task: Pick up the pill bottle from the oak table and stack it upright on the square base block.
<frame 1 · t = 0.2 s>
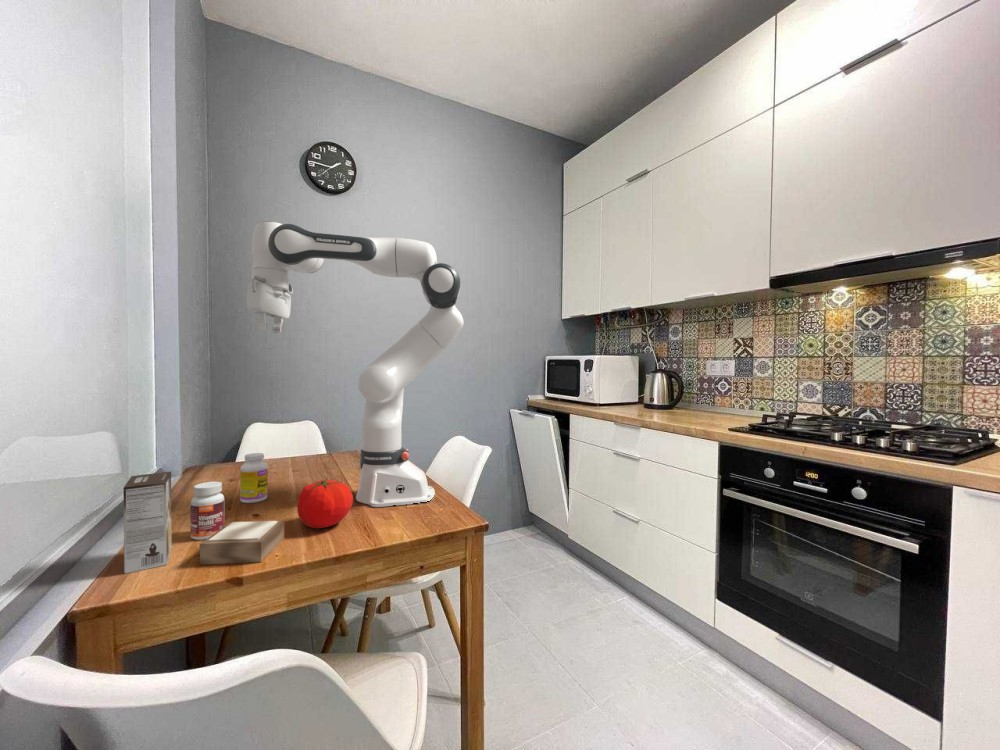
hand: (269, 331, 114), 47 cm above the table, tool pointing down, fingers open, 8 cm apart
pill bottle: (207, 535, 91), on the table
tomato: (325, 525, 98), on the table
base: (245, 550, 84), on the table
supplement bottle: (254, 500, 115), on the table
coffee box: (149, 561, 79), on the table
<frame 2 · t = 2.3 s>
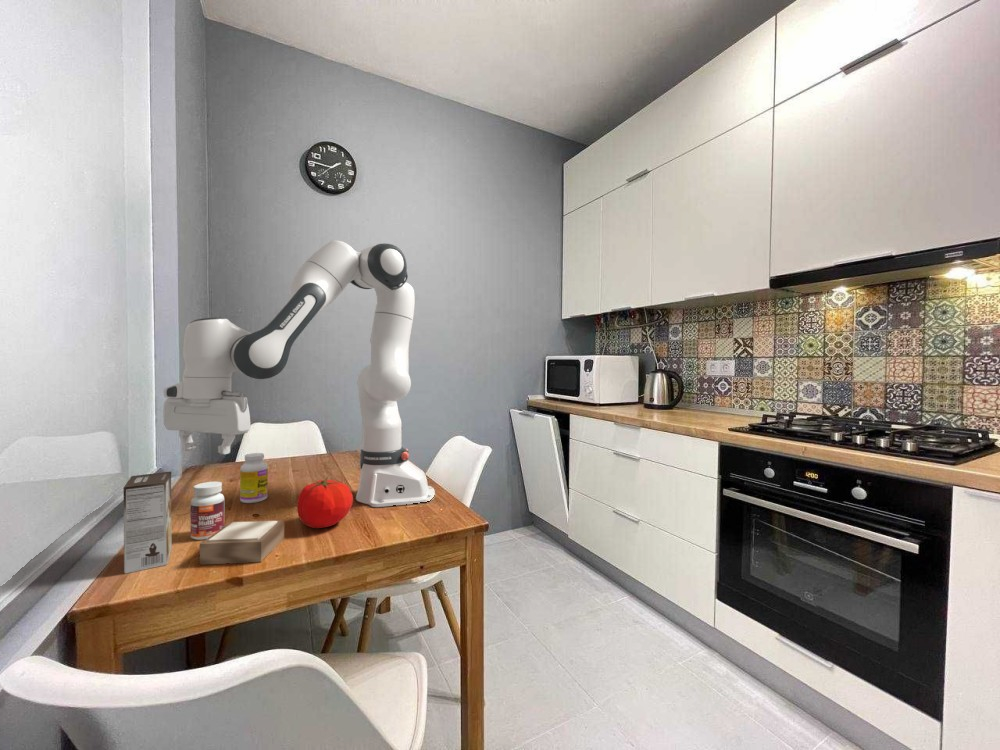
hand: (206, 452, 91), 19 cm above the table, tool pointing down, fingers open, 8 cm apart
nothing on the table moved.
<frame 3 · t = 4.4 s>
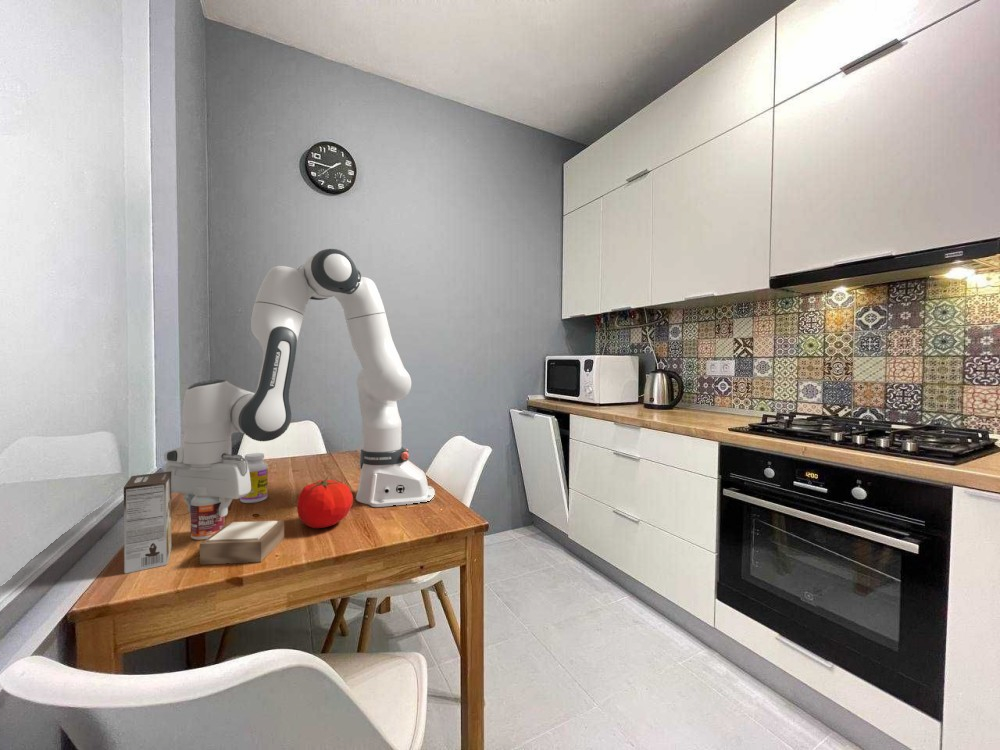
hand: (207, 514, 91), 5 cm above the table, tool pointing down, fingers closed on pill bottle, 6 cm apart
pill bottle: (207, 535, 91), on the table, touching gripper
everything else where it was.
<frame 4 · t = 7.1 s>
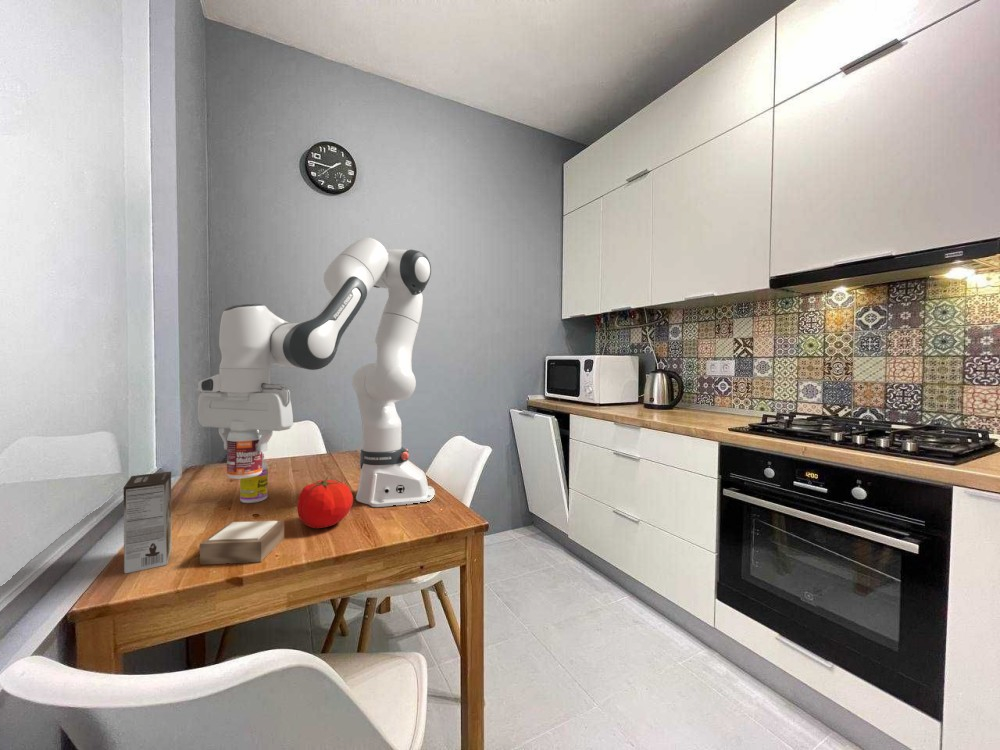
hand: (245, 450, 84), 21 cm above the table, tool pointing down, fingers closed on pill bottle, 6 cm apart
pill bottle: (245, 476, 84), point 15 cm above the table, touching gripper
everything else where it was.
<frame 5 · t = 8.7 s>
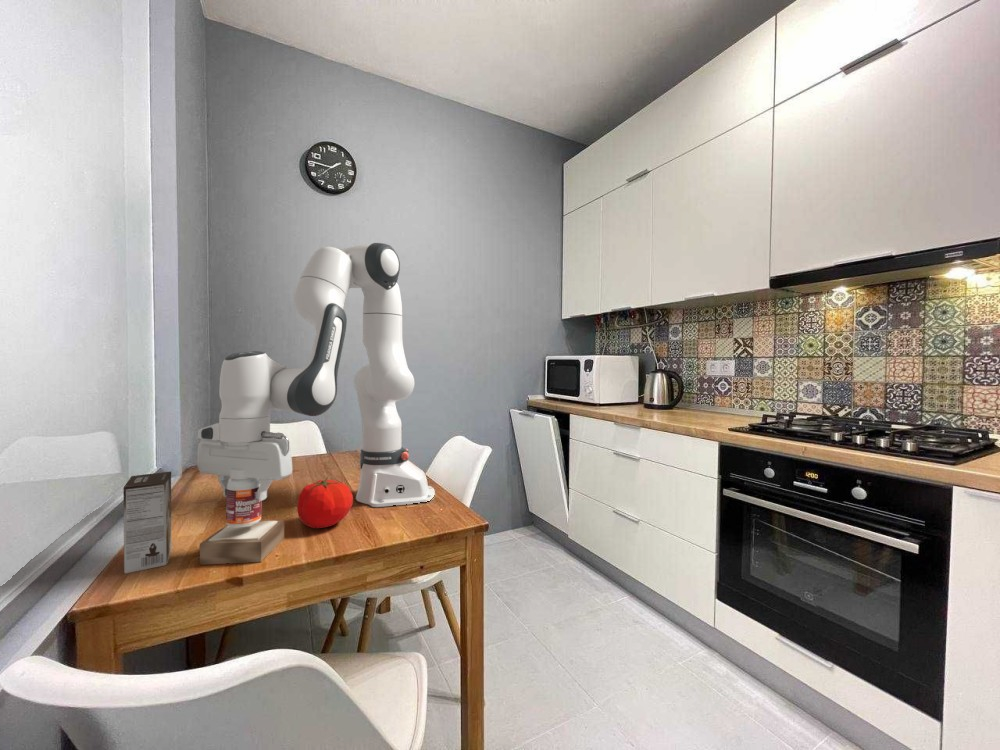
hand: (244, 497, 84), 11 cm above the table, tool pointing down, fingers closed on pill bottle, 6 cm apart
pill bottle: (244, 523, 84), point 6 cm above the table, touching gripper
everything else where it was.
when the fingers open (10 cm above the table, at t = 10.0 s): pill bottle stays where it is, resting on base.
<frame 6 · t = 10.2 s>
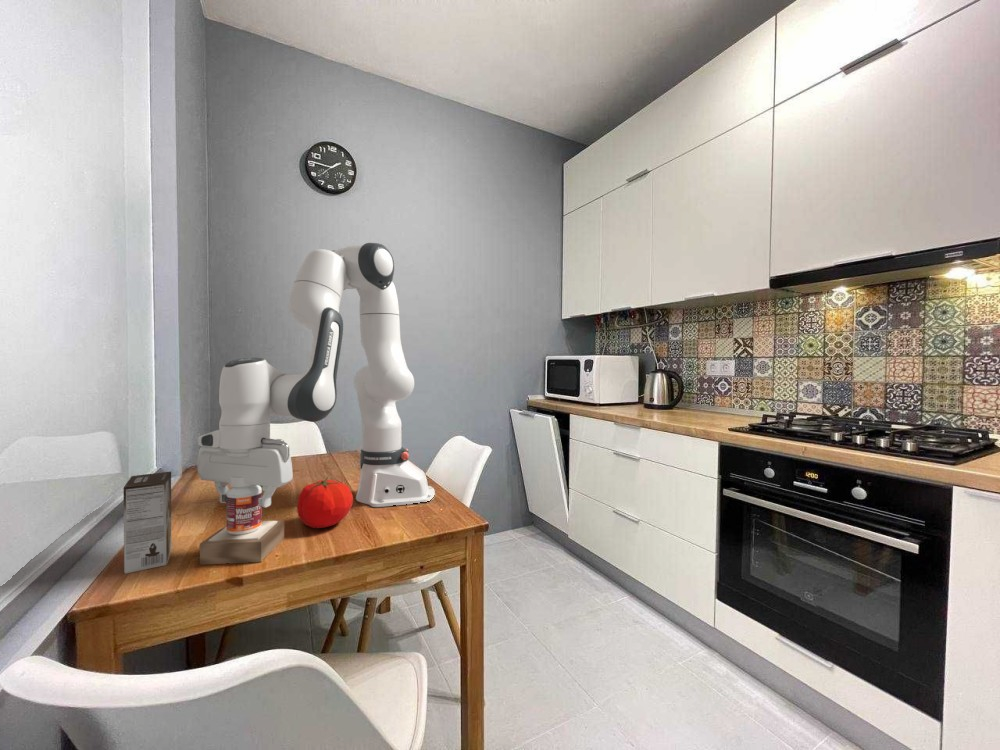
hand: (245, 504, 84), 10 cm above the table, tool pointing down, fingers open, 8 cm apart
pill bottle: (244, 530, 84), point 4 cm above the table, touching base
everything else where it was.
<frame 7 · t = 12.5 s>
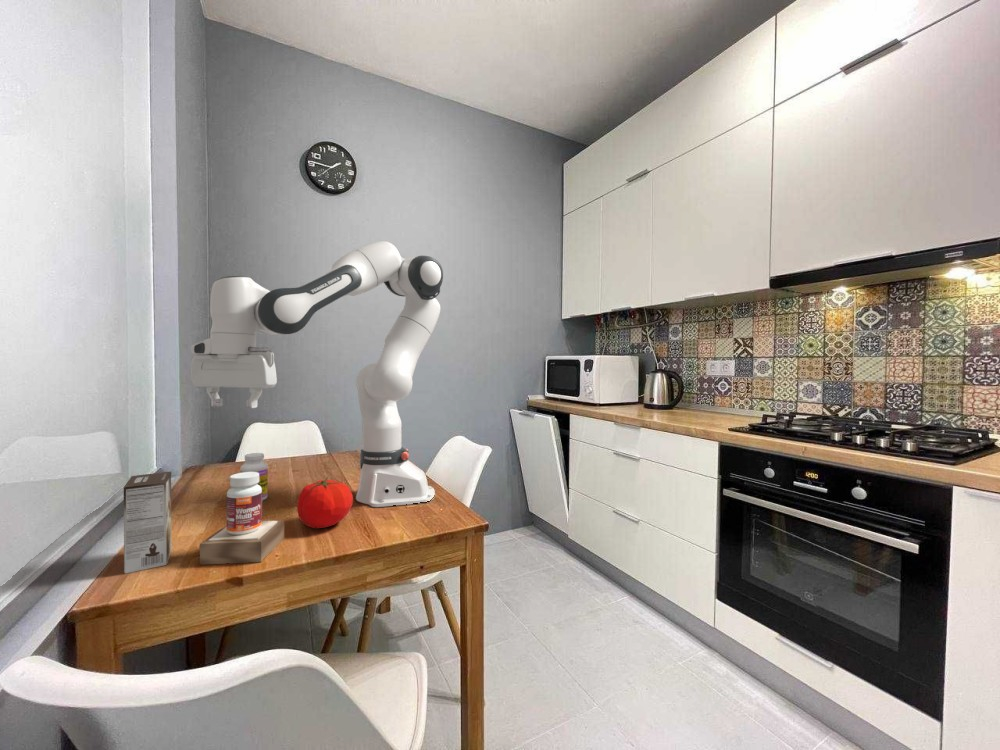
hand: (234, 407, 94), 28 cm above the table, tool pointing down, fingers open, 8 cm apart
nothing on the table moved.
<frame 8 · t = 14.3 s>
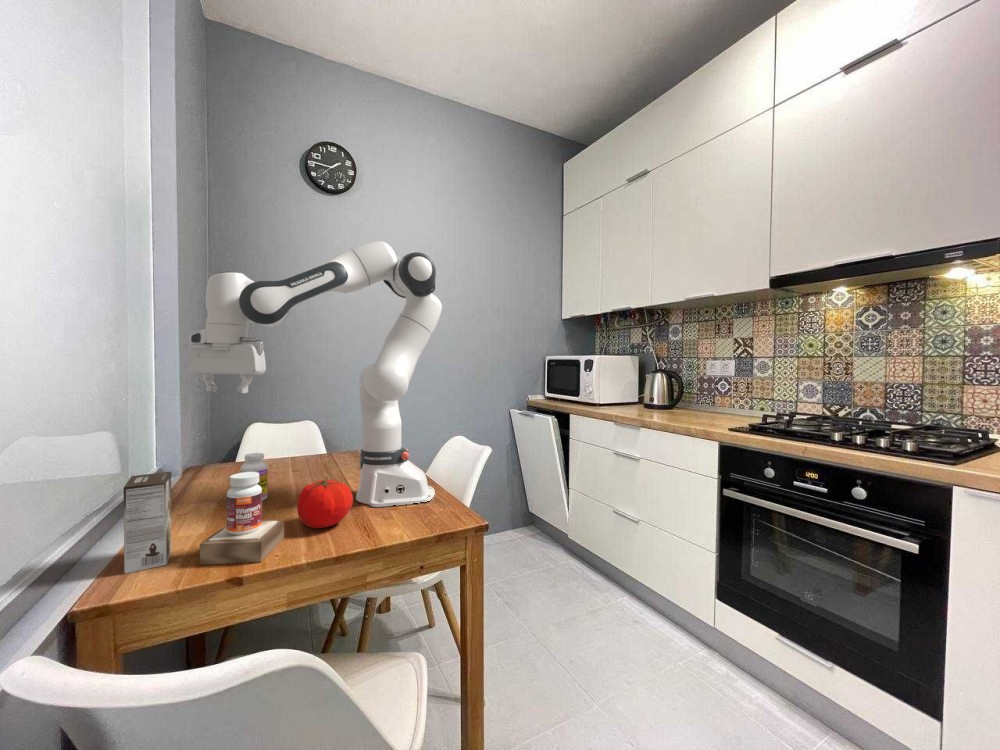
hand: (227, 392, 102), 31 cm above the table, tool pointing down, fingers open, 8 cm apart
nothing on the table moved.
at the end: pill bottle inside the target area on the base (0.2 cm from its centre), point 4.1 cm above the base's base; pill bottle tilted 0°; the gripper is holding nothing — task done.
